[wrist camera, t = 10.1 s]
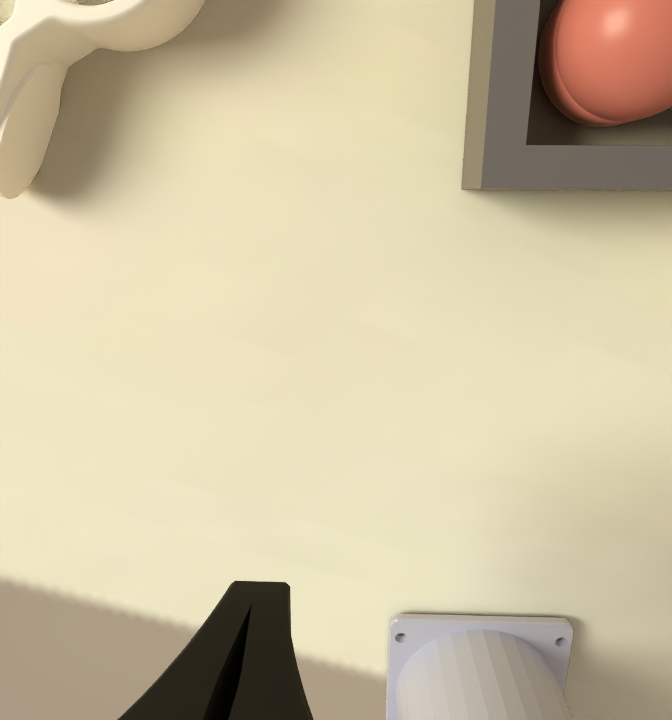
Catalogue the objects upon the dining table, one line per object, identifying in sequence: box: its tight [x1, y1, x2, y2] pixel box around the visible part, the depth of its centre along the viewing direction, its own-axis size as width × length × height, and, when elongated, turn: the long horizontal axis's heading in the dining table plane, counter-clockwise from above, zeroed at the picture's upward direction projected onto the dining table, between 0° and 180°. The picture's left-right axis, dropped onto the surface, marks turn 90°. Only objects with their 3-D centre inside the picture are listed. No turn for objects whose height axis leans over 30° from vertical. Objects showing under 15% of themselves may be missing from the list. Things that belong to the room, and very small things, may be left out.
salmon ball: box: [539, 0, 672, 127], centre depth 15 cm, size 4×4×4 cm
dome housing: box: [461, 0, 672, 191], centre depth 16 cm, size 8×8×3 cm
